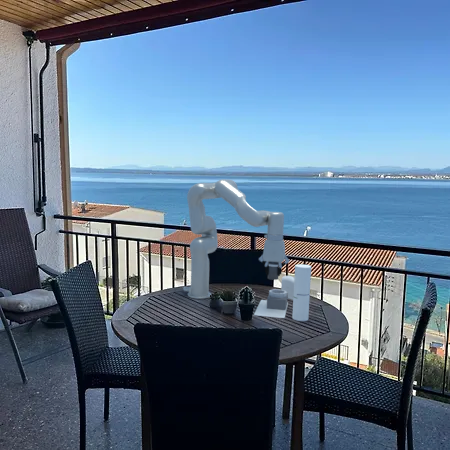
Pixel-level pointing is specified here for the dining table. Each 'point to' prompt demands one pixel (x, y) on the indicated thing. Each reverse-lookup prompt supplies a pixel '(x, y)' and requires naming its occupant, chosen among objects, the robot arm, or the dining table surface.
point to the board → (269, 310)
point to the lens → (273, 270)
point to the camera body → (277, 299)
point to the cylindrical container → (301, 292)
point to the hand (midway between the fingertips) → (273, 274)
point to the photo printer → (288, 286)
